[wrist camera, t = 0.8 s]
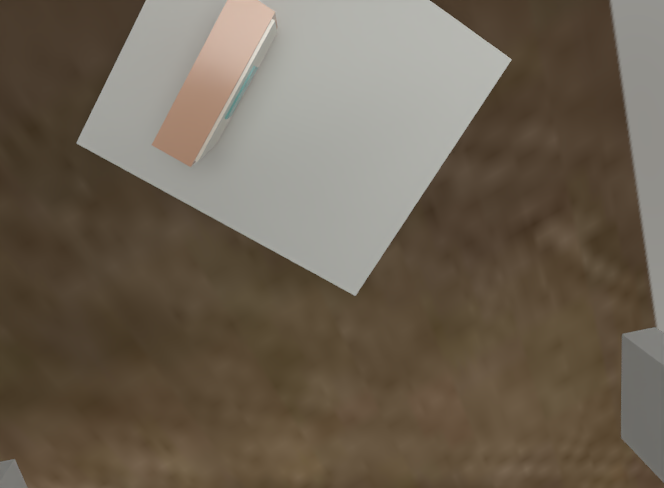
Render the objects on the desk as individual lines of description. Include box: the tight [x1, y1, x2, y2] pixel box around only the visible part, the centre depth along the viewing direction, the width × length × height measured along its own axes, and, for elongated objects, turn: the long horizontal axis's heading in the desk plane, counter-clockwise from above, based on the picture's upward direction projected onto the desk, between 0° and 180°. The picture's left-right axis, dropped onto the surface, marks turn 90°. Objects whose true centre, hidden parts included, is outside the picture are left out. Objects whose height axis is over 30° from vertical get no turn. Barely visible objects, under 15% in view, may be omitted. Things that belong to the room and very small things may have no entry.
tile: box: [152, 0, 278, 167], centre depth 28 cm, size 2×8×8 cm, turn 148°
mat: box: [77, 0, 512, 296], centre depth 33 cm, size 20×18×1 cm
